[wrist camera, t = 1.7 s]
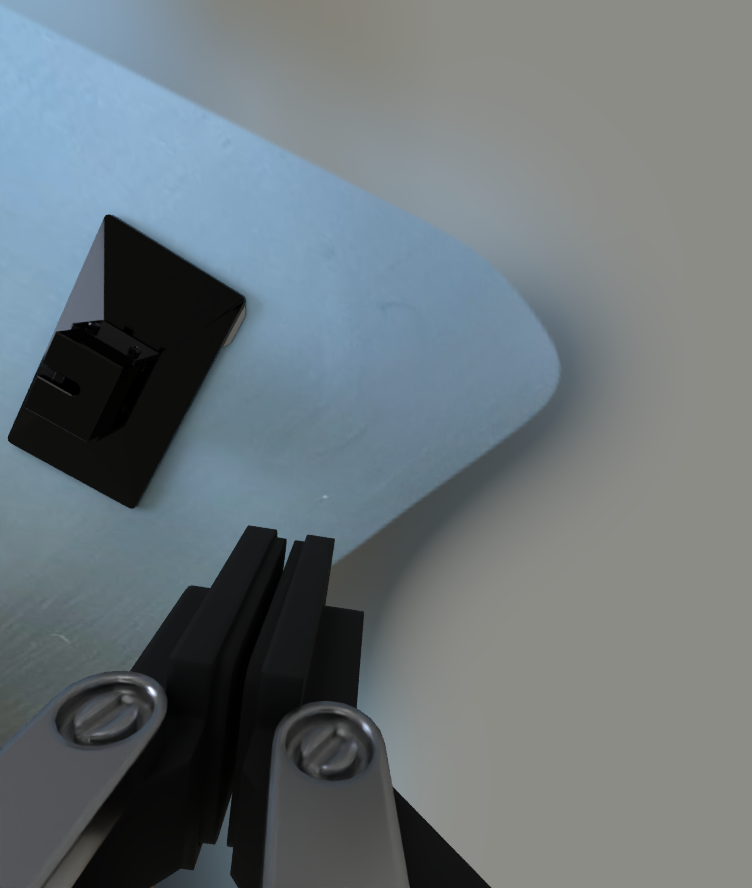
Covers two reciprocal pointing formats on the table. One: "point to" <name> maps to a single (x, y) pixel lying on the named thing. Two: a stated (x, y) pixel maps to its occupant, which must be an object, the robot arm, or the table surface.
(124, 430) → the build plate
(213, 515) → the table surface
